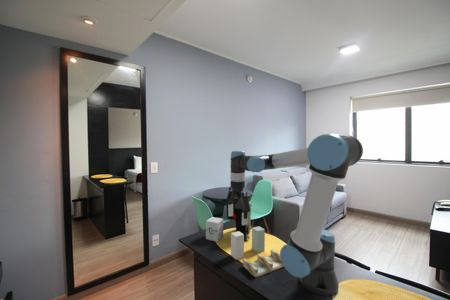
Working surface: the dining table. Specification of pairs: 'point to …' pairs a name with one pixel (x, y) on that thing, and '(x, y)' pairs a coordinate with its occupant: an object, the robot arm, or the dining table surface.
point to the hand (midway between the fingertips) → (237, 220)
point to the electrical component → (238, 219)
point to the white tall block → (237, 245)
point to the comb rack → (263, 264)
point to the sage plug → (258, 239)
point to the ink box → (214, 229)
